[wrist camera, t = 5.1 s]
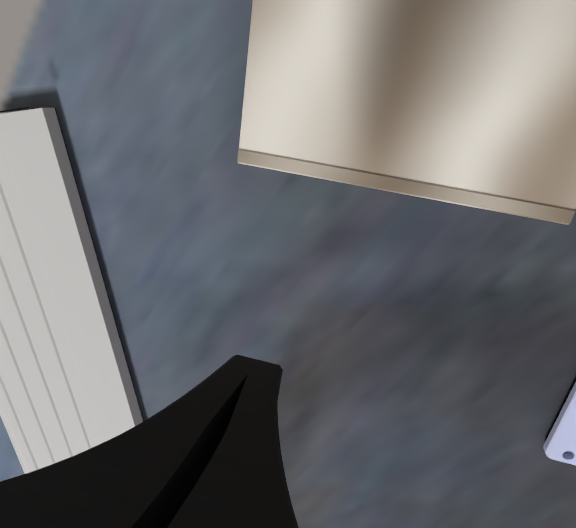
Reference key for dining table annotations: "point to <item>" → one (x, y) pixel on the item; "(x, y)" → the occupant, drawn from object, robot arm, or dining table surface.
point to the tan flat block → (419, 98)
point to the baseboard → (53, 305)
